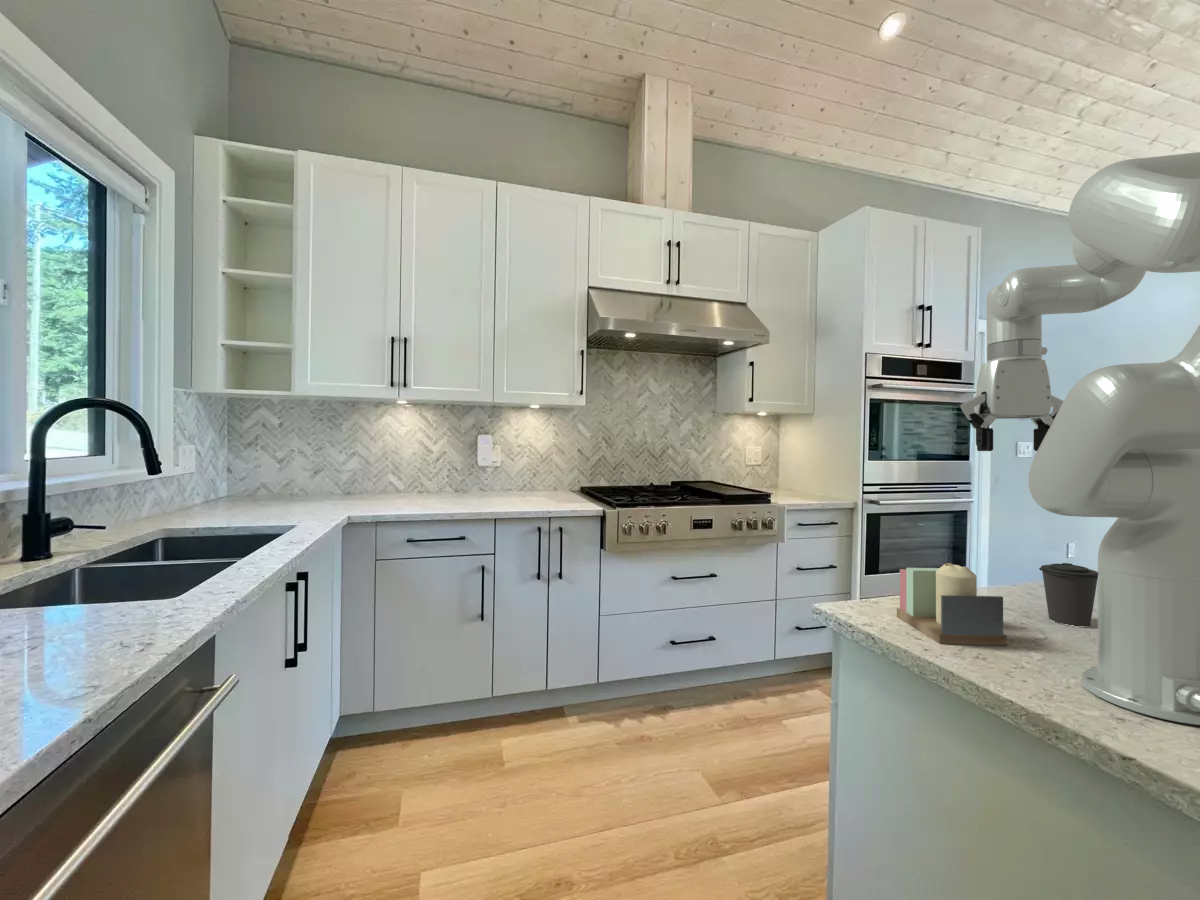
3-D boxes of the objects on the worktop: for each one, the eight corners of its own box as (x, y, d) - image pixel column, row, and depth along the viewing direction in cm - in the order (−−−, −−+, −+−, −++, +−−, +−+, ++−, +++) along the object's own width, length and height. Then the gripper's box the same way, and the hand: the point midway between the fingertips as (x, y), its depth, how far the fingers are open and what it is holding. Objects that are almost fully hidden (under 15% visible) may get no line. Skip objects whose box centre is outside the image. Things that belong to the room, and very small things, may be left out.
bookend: (1003, 635, 79) (1003, 597, 79) (943, 634, 79) (943, 596, 79) (1000, 634, 79) (1000, 596, 79) (941, 633, 80) (941, 595, 80)
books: (967, 617, 87) (967, 571, 87) (913, 616, 88) (913, 570, 88) (951, 609, 92) (951, 565, 92) (899, 608, 92) (899, 564, 92)
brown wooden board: (1006, 645, 79) (1006, 635, 79) (939, 643, 79) (939, 634, 79) (953, 617, 92) (953, 609, 92) (896, 616, 92) (896, 608, 92)
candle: (984, 628, 82) (984, 566, 82) (962, 633, 80) (962, 569, 80) (949, 617, 87) (949, 559, 87) (928, 622, 85) (928, 562, 85)
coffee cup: (1075, 615, 93) (1074, 560, 93) (1115, 630, 85) (1115, 571, 85) (1027, 613, 94) (1027, 560, 94) (1063, 629, 86) (1062, 570, 86)
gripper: (1047, 357, 92) (1048, 451, 92) (949, 358, 93) (949, 451, 93) (1084, 349, 85) (1084, 451, 85) (976, 350, 86) (976, 451, 86)
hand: (1013, 451), depth 89 cm, fingers open, 9 cm apart
